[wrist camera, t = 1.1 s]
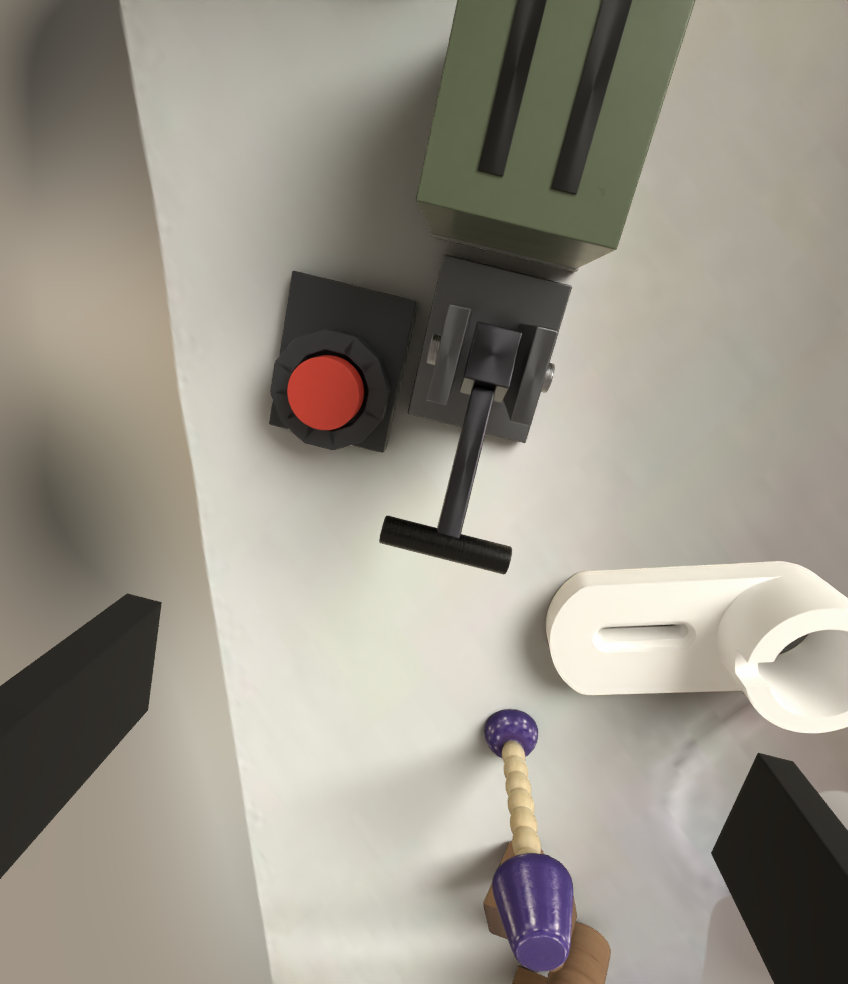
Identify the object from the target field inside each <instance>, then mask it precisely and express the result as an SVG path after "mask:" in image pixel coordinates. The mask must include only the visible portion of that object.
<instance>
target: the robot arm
mask: <svg viewBox="0 0 848 984" xmlns="http://www.w3.org/2000/svg"><path fill="white" fill-rule="evenodd" d="M160 611H161V602H158V601H154V600H150V599H146V598H143V597H138V596H135V595H131V594H126V595H125V596H123V597H122V598H120V599H119V600H118V601H116V602H115V603H114V604H112V605H111V606H109V607H108V608H107V609H105V610H104V611H103V612H101V613H100V614H99V615H97V616H96V617H94V618H93V619H92V620H91V621H89V622H88V623H86V624H85V625H83V626H82V627H81V628H79V629H78V630H77V631H75V632H74V633H72V634H71V635H70V636H68V637H67V638H66V639H64V640H63V641H61V642H60V643H59V644H57V645H56V646H55V647H53V648H52V649H51V650H49V651H48V652H46V653H45V654H44V655H42V656H41V657H40V658H38V659H37V660H35V661H34V662H33V663H31V664H30V665H29V666H27V667H26V668H24V669H23V670H22V671H20V672H19V673H18V674H16V675H15V676H13V677H12V678H11V679H9V680H8V681H7V682H5V683H4V684H3V685H1V686H0V879H1V877H2V876H3V875H4V874H5V873H6V872H7V871H8V869H9V868H10V867H11V866H12V865H13V864H14V863H15V861H16V860H17V859H18V858H19V857H20V856H21V855H22V853H23V852H24V851H25V850H26V849H27V848H28V846H29V845H30V844H31V843H32V842H33V841H34V840H35V839H36V837H37V836H38V835H39V834H40V833H41V832H42V831H43V829H44V828H45V827H46V826H47V825H48V823H50V821H51V820H52V819H53V818H54V817H55V816H56V815H57V813H58V812H59V811H60V810H61V809H62V808H63V807H64V805H65V804H66V803H67V802H68V801H69V800H70V799H71V797H72V796H73V795H74V794H75V793H76V792H77V791H78V789H79V788H80V787H81V786H82V785H83V784H84V783H85V781H86V780H87V779H88V778H89V777H90V776H91V775H92V773H93V772H94V771H95V770H96V769H97V768H98V767H99V765H100V764H101V763H102V762H103V761H104V760H105V759H106V757H107V756H108V755H109V754H110V753H111V752H112V750H113V749H114V748H115V747H116V746H117V745H118V744H119V742H120V741H121V740H122V739H123V738H124V737H125V736H126V734H127V733H128V732H129V731H130V730H131V729H132V727H134V725H135V724H136V723H137V722H138V721H139V720H140V719H141V717H142V716H143V715H144V714H145V713H146V712H147V711H148V705H149V698H150V689H151V682H152V674H153V666H154V658H155V650H156V642H157V634H158V627H159V618H160ZM711 854H712V856H713V858H714V860H715V862H716V864H717V866H718V868H719V871H720V873H721V875H722V877H723V879H724V881H725V883H726V885H727V887H728V889H729V891H730V893H731V895H732V897H733V899H734V901H735V904H736V906H737V907H738V910H739V912H740V914H741V916H742V918H743V920H744V922H745V924H746V926H747V928H748V930H749V932H750V934H751V937H752V938H753V940H754V943H755V945H756V947H757V949H758V951H759V953H760V955H761V957H762V959H763V961H764V963H765V965H766V967H767V969H768V972H769V973H770V975H771V978H772V980H773V982H774V984H848V830H847V829H846V828H845V827H844V825H843V824H842V823H841V822H840V820H839V819H838V818H837V817H836V815H835V814H834V813H833V811H832V810H831V809H830V808H829V807H828V805H827V804H826V803H825V801H824V800H823V799H822V797H821V796H820V795H819V794H818V792H817V791H816V790H815V789H814V787H813V786H812V785H811V784H810V782H809V781H808V780H807V779H806V777H805V776H804V775H803V773H802V772H801V771H800V770H799V768H798V767H797V766H796V765H795V763H794V762H793V761H789V760H785V759H781V758H777V757H773V756H769V755H765V754H761V753H758V754H757V756H756V758H755V760H754V762H753V765H752V767H751V769H750V771H749V773H748V775H747V777H746V780H745V782H744V784H743V786H742V788H741V790H740V792H739V795H738V797H737V799H736V801H735V803H734V805H733V807H732V810H731V812H730V814H729V816H728V818H727V820H726V822H725V825H724V827H723V829H722V831H721V833H720V835H719V837H718V840H717V842H716V844H715V846H714V848H713V850H712V852H711Z"/></svg>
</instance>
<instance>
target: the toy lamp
mask: <svg viewBox="0 0 848 984" xmlns="http://www.w3.org/2000/svg"><path fill="white" fill-rule="evenodd" d="M484 733H485V739H486V742H487V744H488V746H489V747H490V749H491V750H492V751H493V752H494V753H495V754H496V755H497V756H499V757H501V758H502V759H503V761H504V763H505V764H504V774H505V777H506V791H507V794H508V809H509V812H510V814H511V817H510V827H511V831H512V833H513V839H512V846H513V851H514V853H515V856H514V857H511V858H509V859H507V860H506V861H505V862H503V863H502V864H501V865H500V866H499V867H498V869H497V870H496V872H495V874H494V877H493V882H492V889H493V895H494V899H495V902H496V905H497V908H498V911H499V914H500V917H501V921H502V924H503V926H504V929H505V932H506V935H507V938H508V941H509V944H510V947H511V949H512V952H513V954H514V956H515V958H516V959H517V960H518V962H519V963H520V964H521V965H523V966H524V967H526V968H528V969H530V970H534V971H539V972H545V971H550V970H554V969H556V968H558V967H560V966H561V965H562V964H563V963H564V962H565V961H566V959H567V957H568V955H569V951H570V945H571V929H572V911H573V883H572V879H571V876H570V874H569V872H568V871H567V869H566V868H565V867H564V866H563V865H562V864H561V863H560V862H559V861H557V860H556V859H554V858H552V857H550V856H549V855H545V854H540V853H541V845H540V840H539V837H538V835H537V821H536V818H535V816H534V802H533V799H532V797H531V785H530V782H529V780H528V769H527V766H526V764H525V757H526V756H528V755H529V754H530V753H531V752H532V750H533V749H534V748H535V745H536V743H537V740H538V728H537V725H536V723H535V721H534V720H533V719H532V718H531V717H530V716H529V715H528V714H526V713H524V712H522V711H518V710H511V709H508V710H502V711H499V712H497V713H495V714H494V715H492V716H491V717H490V718H489V720H488V721H487V723H486V726H485V731H484Z"/></svg>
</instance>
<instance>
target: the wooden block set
mask: <svg viewBox="0 0 848 984" xmlns="http://www.w3.org/2000/svg"><path fill="white" fill-rule="evenodd" d="M540 854H543V851H542V850H541V853H540ZM514 856H515V853H514V851H513V846H512V841H510V842H509V844H508V847H507V849H506V851H505V854H504V856H503V858H502V861H501V863H500V865H501V864H502V863H503V862H505V861H506V860H507V859H509V858H511V857H514ZM500 865H499V866H500ZM484 910H485V914H486V919H487V923H488V927H489V931H490V932H491V933H492V934H495V935H497V936H500V937H503V938H505V939H508V938H507V935H506V932H505V929H504V926H503V924H502V921H501V917H500V914H499V911H498V908H497V905H496V902H495V899H494V895H493V889H492V884H491V886H490V889H489V891H488V893H487V896H486V898H485V900H484ZM576 918H577V913H576V907H575V902H574V896H573V911H572V929H571V945H570V951H569V955H568V957H567V959H566V961H565V962H564V963H563V964H562V965H561V966H560V967H558V968H556V969H554V970H550V971H549V974H548V978H547V977H545V976H542V975H540V974H537V973H535V972H532V971H529V970H527V969H524V968H522V967H519V966H518V968H517V971H516V974H515V977H514V980H513V983H512V984H605V980H606V975H607V970H608V965H609V960H610V954H611V950H610V947H609V944H608V942H607V941H606V939H605V938H604V937H603V936H602V935H601V934H600V933H599V932H598V931H596V930H594V929H593V928H591V927H589V926H587V925H585V924H581V923H577V922H575V921H576Z"/></svg>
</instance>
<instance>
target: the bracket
mask: <svg viewBox="0 0 848 984" xmlns="http://www.w3.org/2000/svg"><path fill="white" fill-rule="evenodd" d="M667 624H676V625H674V626H660V627H636V628H612V629H601V628H603V627H619V626H643V625H667ZM808 633H809V634H808ZM806 634H808V635H807V637H806V638H805V639H804V640H803V641H802V642H801V643H800V644H799V645H797V646H796V647H795V648H793V649H791V650H789V651H787V652H785V653H782V654H779V653H780V652H781V651H782V650H783V649H784V648H785V647H786V646H787V645H788V644H790V643H791V642H792V641H794V640H796V639H797V638H799V637H801V636H803V635H806ZM546 635H547V639H548V643H549V648H550V652H551V657H552V660H553V663H554V665H555V667H556V669H557V671H558V673H559V674H560V676H561V677H562V678H563V680H564V681H565V682H566V683H567V684H568V685H569V686H570V687H571V688H573V689H574V690H575V691H576V692H578V693H580V694H584V695H609V694H643V693H678V692H712V691H743V692H744V694H745V695H746V696H747V698H748V699H749V701H750V702H751V703H752V705H753V706H754V707H755V709H756V710H757V711H758V712H759V713H760V714H761V715H762V716H763V717H764V718H765V719H767V720H768V721H770V722H771V723H773V724H775V725H777V726H779V727H781V728H784V729H787V730H791V731H795V732H801V733H823V732H830V731H835V730H839V729H842V728H845V727H848V598H847V597H845V596H844V595H843V594H841V593H840V592H839V591H837V590H836V589H835V588H833V587H832V586H831V585H829V584H828V583H827V582H825V581H824V580H823V579H821V578H820V577H819V576H817V575H816V574H815V573H813V572H812V571H810V570H808V569H807V568H805V567H802V566H800V565H797V564H793V563H789V562H781V561H774V562H755V563H736V564H717V565H697V566H678V567H659V568H640V569H621V570H601V571H584V572H579V573H577V574H575V575H573V576H572V577H571V578H570V579H568V580H567V581H566V582H565V583H564V584H563V585H562V586H561V588H560V589H559V590H558V591H557V593H556V594H555V596H554V598H553V599H552V601H551V604H550V606H549V609H548V613H547V617H546ZM778 654H779V655H778Z"/></svg>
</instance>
